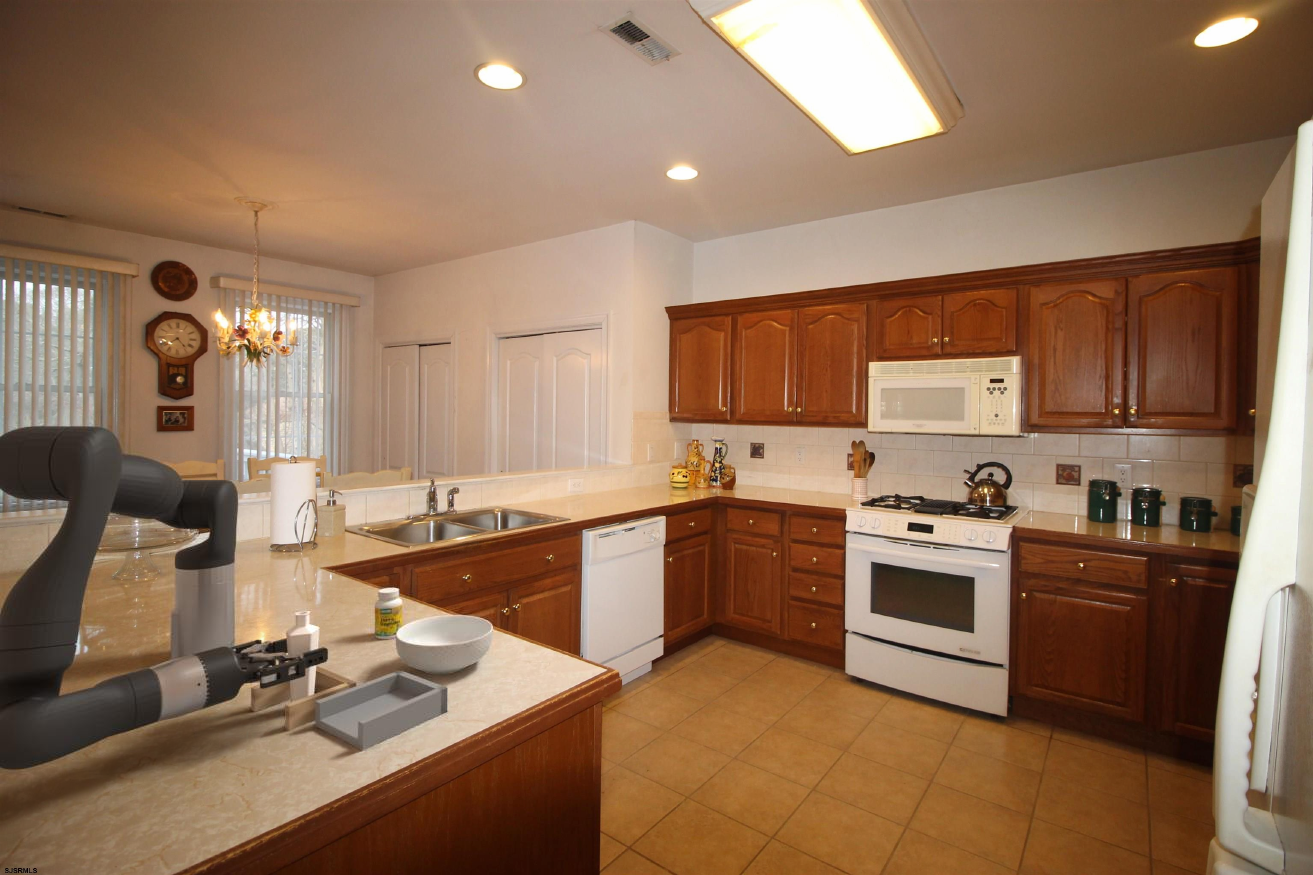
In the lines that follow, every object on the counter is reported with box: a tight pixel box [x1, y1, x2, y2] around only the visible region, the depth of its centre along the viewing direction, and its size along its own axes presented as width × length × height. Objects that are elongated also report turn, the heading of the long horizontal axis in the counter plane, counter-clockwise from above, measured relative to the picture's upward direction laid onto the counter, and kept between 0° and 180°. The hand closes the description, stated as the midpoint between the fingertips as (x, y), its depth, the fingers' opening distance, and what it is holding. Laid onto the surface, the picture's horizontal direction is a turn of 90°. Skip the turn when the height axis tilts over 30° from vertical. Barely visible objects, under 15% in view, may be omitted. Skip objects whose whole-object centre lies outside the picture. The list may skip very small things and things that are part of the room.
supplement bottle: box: [374, 587, 404, 640], centre depth 130 cm, size 5×5×10 cm
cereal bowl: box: [395, 614, 494, 675], centre depth 115 cm, size 17×17×7 cm
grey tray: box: [314, 669, 448, 751], centre depth 94 cm, size 14×12×4 cm
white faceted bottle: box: [285, 610, 320, 703], centre depth 97 cm, size 5×4×15 cm
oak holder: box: [250, 665, 358, 731], centre depth 98 cm, size 10×11×4 cm
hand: (311, 647), depth 98 cm, fingers open, 8 cm apart
